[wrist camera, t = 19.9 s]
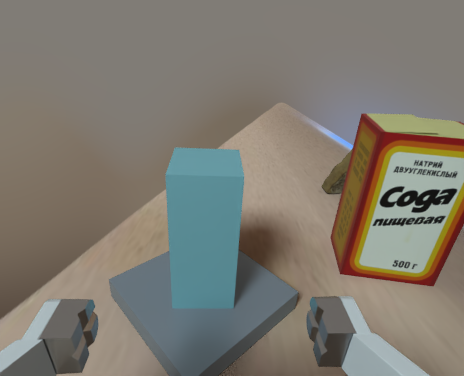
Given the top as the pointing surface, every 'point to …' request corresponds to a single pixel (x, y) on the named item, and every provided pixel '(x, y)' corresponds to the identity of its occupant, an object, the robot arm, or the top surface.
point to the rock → (337, 176)
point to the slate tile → (201, 316)
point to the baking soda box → (401, 199)
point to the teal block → (204, 226)
